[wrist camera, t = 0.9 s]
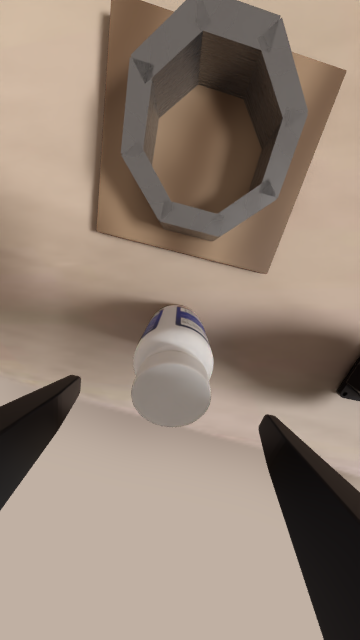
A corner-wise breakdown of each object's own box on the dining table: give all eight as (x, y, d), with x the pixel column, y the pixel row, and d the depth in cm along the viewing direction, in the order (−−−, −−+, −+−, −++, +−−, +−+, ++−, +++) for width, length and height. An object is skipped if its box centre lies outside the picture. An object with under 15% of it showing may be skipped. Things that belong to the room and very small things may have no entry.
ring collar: (300, 88, 10) (336, 35, 8) (246, 250, 13) (260, 247, 11) (149, 39, 10) (138, -35, 7) (128, 219, 13) (115, 209, 10)
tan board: (332, 87, 11) (346, 70, 10) (261, 273, 15) (266, 273, 14) (118, 16, 10) (111, -10, 9) (102, 233, 14) (96, 230, 13)
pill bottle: (158, 357, 18) (135, 444, 9) (142, 311, 16) (98, 364, 8) (207, 347, 17) (231, 428, 9) (196, 298, 15) (214, 339, 7)
